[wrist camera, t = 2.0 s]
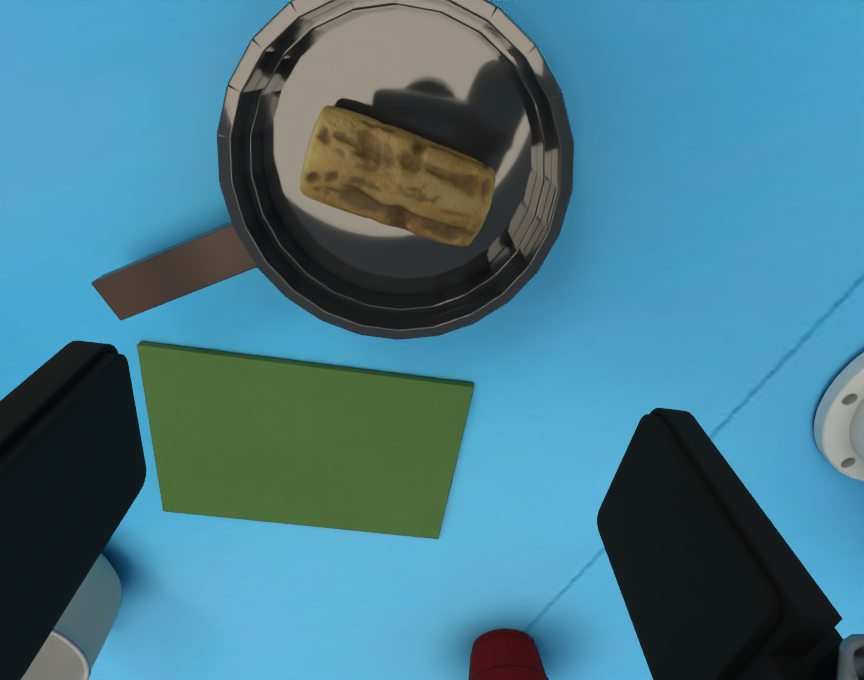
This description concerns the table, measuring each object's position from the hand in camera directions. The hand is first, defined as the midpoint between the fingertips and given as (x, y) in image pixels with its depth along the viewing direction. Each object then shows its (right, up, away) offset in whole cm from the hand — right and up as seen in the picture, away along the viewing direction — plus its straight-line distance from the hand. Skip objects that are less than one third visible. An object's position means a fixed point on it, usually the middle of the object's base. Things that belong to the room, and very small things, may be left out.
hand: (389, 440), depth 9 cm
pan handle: (-11, +6, +15) cm, 20 cm away
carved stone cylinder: (-1, +10, +16) cm, 19 cm away
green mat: (-8, -5, +25) cm, 26 cm away
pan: (-1, +10, +16) cm, 19 cm away
